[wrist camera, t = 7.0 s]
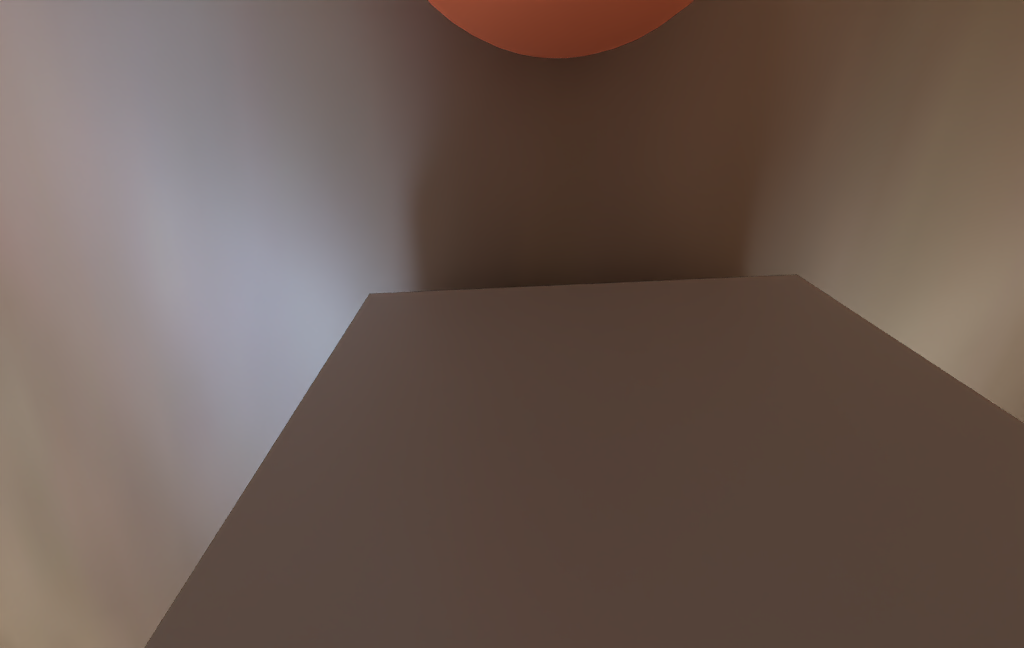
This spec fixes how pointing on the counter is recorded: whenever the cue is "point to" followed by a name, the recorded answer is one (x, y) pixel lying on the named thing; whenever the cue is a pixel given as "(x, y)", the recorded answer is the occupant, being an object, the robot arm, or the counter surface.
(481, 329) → the grey rectangular box
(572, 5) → the ball
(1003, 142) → the counter surface
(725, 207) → the counter surface
